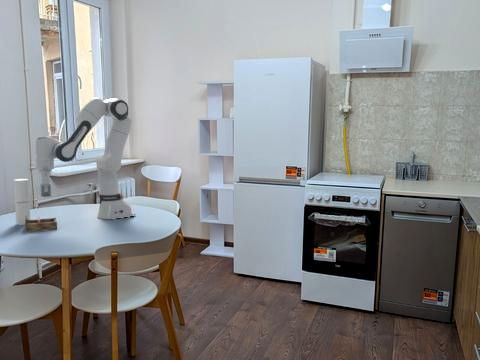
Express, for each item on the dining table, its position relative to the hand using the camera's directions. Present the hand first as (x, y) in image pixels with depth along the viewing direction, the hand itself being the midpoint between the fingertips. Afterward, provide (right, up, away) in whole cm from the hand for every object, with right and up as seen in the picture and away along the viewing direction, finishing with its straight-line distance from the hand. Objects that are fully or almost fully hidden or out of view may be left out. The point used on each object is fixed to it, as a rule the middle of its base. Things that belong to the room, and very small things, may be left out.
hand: (46, 190), depth 225 cm
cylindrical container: (-15, -19, +4) cm, 24 cm away
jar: (0, -3, 0) cm, 3 cm away
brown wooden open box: (0, -20, -5) cm, 21 cm away
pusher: (-1, -20, -5) cm, 20 cm away
